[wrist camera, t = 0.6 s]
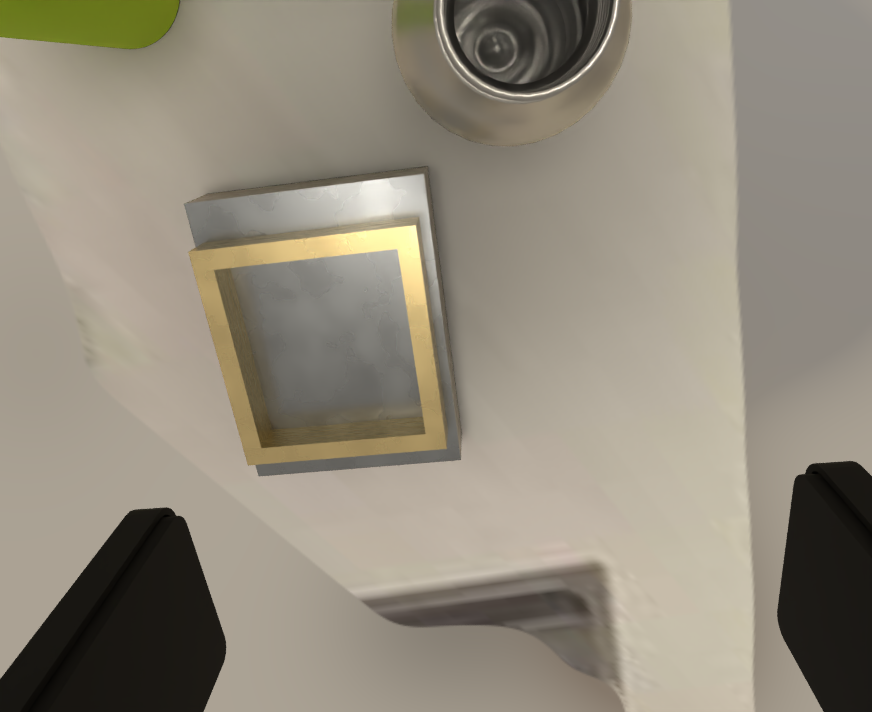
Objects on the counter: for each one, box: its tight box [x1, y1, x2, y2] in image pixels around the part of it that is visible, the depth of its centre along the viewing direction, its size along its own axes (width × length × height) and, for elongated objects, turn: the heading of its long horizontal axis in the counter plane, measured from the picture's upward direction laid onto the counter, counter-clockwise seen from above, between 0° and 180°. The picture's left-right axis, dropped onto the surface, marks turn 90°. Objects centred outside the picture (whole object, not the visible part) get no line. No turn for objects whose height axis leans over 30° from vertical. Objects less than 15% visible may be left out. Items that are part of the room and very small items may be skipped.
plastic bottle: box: [392, 0, 632, 146], centre depth 22 cm, size 6×7×20 cm
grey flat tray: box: [184, 166, 462, 476], centre depth 35 cm, size 16×12×5 cm
